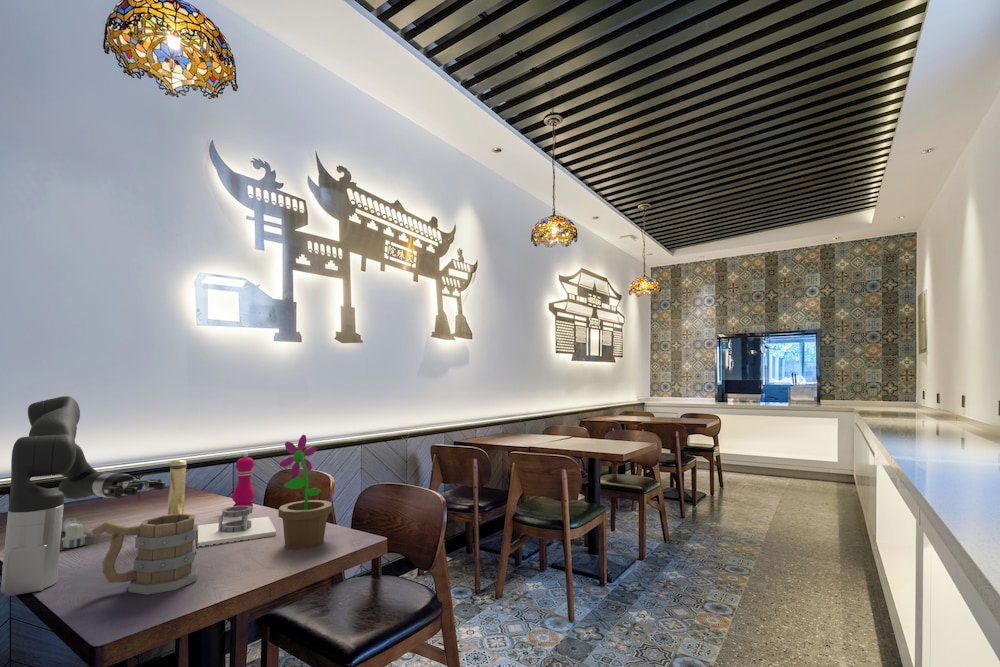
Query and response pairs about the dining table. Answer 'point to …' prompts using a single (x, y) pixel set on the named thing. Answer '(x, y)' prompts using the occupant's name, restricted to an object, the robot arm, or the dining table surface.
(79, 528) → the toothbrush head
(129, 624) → the dining table surface
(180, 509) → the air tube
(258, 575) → the dining table surface
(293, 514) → the flowerpot
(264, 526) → the base
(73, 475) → the robot arm
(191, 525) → the tankard
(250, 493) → the pepper mill
